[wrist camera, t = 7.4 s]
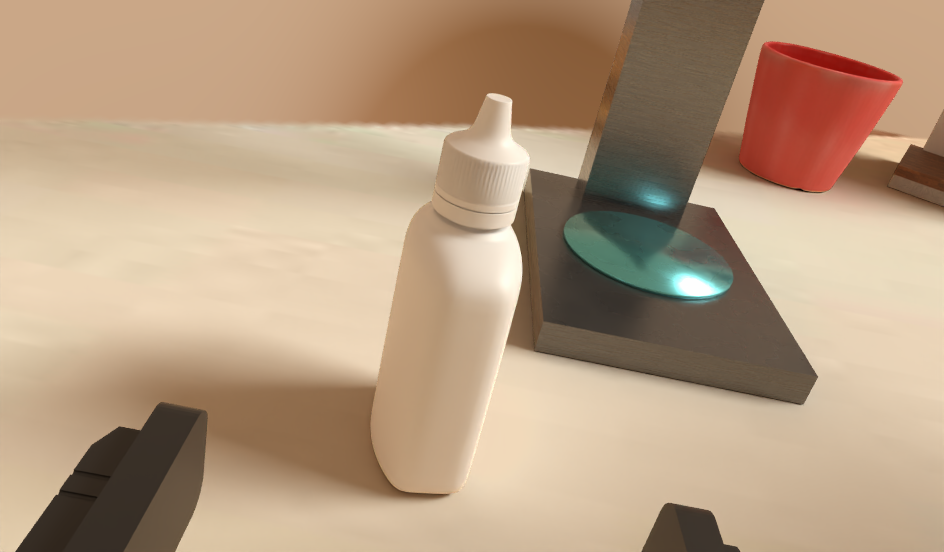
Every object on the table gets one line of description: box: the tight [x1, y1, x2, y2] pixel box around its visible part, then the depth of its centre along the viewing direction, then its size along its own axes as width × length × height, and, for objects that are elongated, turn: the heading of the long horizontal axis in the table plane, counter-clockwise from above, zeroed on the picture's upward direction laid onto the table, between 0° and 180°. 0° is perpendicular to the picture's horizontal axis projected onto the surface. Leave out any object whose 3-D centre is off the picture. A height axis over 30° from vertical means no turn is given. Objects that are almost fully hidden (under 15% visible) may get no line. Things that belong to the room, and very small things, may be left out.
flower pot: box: [739, 42, 903, 192], centre depth 62 cm, size 11×11×10 cm
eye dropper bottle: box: [370, 93, 530, 494], centre depth 23 cm, size 4×6×12 cm
